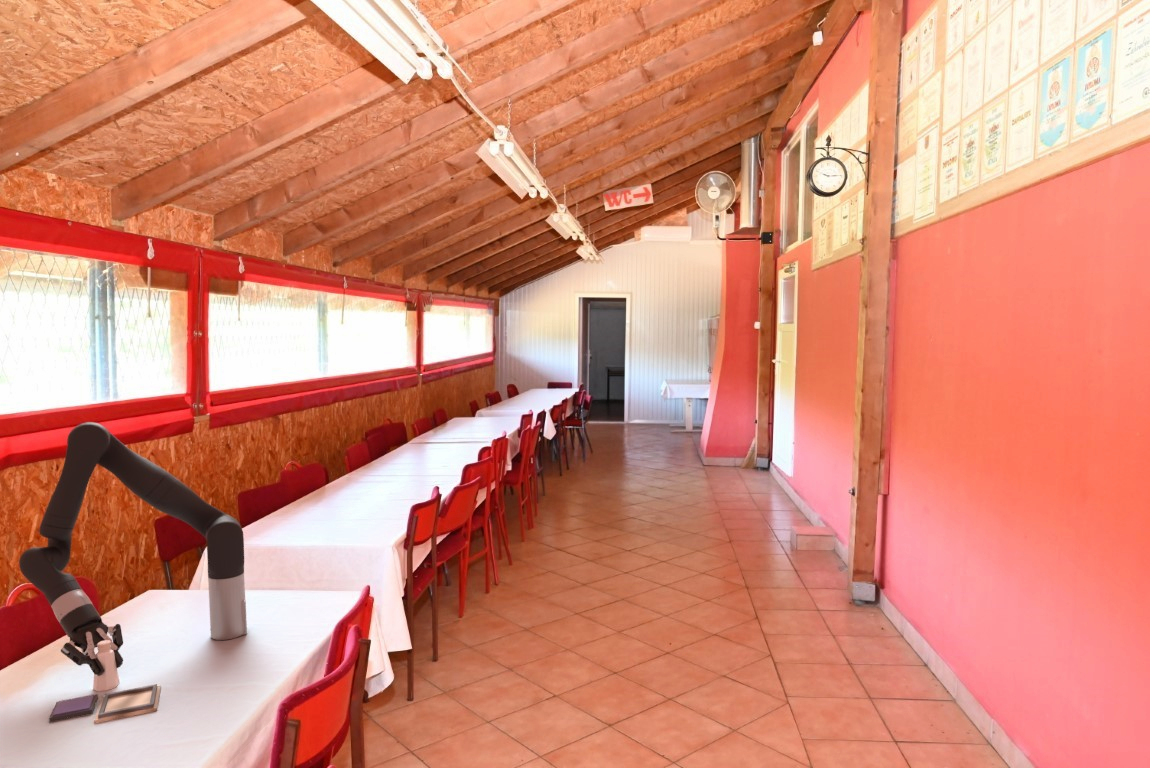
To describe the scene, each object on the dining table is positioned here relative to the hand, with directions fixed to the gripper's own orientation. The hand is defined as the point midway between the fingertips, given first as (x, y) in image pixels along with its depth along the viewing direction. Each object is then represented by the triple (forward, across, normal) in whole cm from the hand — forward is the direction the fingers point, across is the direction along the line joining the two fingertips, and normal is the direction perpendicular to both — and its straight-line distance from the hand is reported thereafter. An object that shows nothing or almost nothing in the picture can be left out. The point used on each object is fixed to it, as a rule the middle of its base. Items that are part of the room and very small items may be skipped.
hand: (110, 669), depth 177 cm
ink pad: (+5, -10, +2) cm, 12 cm away
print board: (+12, -4, -5) cm, 13 cm away
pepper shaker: (+2, 0, +5) cm, 5 cm away
